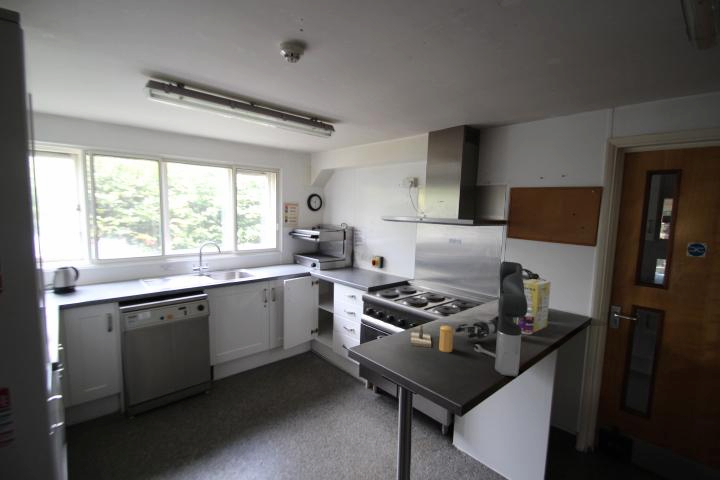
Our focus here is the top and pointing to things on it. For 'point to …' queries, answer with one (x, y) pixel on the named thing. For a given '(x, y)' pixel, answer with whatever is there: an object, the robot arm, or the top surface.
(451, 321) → the top surface
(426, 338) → the post board
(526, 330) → the pill bottle
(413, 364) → the top surface
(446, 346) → the octagonal lidded canister
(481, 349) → the combination wrench
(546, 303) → the pasta box
